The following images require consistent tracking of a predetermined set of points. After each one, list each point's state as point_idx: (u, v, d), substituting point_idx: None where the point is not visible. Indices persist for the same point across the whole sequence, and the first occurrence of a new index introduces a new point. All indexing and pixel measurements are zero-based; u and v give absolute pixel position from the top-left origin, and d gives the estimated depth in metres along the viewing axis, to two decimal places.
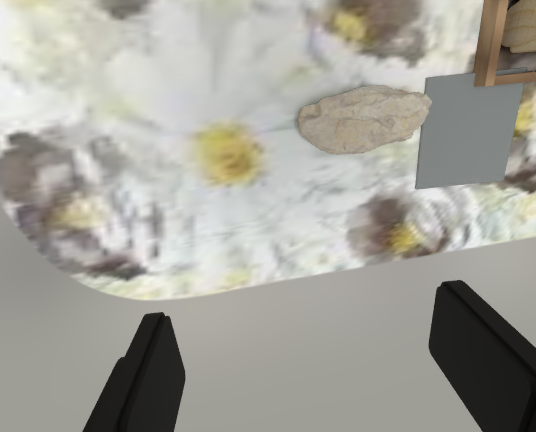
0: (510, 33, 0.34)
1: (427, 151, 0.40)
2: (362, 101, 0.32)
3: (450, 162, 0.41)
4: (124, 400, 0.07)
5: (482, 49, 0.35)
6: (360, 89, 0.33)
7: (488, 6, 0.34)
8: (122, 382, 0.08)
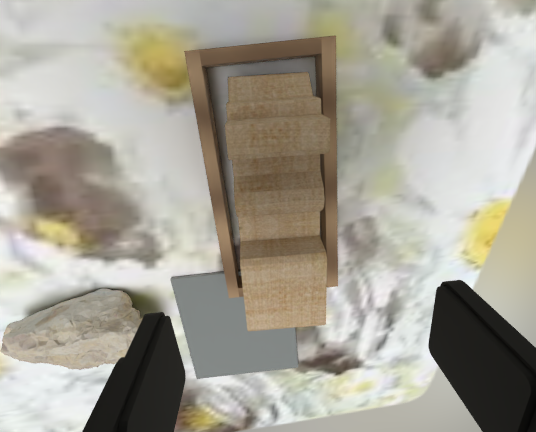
0: None
1: (196, 345, 0.34)
2: (49, 342, 0.26)
3: (228, 354, 0.35)
4: (124, 401, 0.07)
5: None
6: (58, 318, 0.27)
7: None
8: (122, 382, 0.08)
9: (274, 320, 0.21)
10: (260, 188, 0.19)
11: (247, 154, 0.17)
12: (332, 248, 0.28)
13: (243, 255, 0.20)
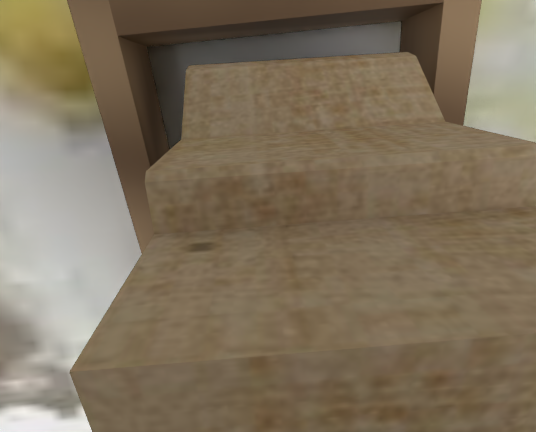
0: None
1: None
2: None
3: None
4: None
5: None
6: None
7: None
8: None
9: None
10: None
11: None
12: None
13: None
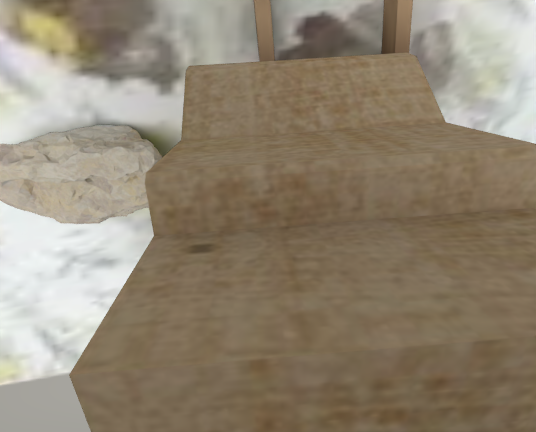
0: None
1: None
2: (37, 156, 0.20)
3: None
4: None
5: None
6: (50, 134, 0.21)
7: (254, 1, 0.21)
8: None
9: None
10: None
11: None
12: (402, 47, 0.22)
13: None
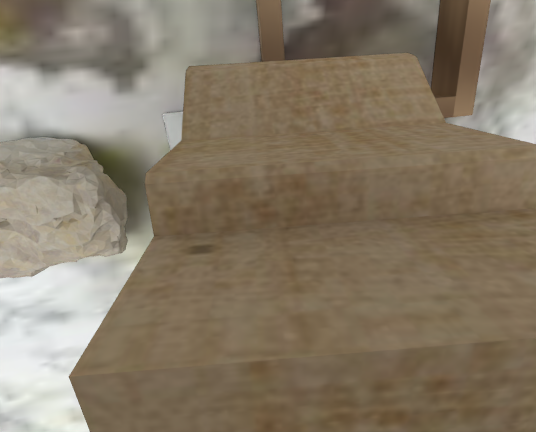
0: None
1: None
2: None
3: None
4: None
5: (261, 52, 0.16)
6: None
7: None
8: None
9: None
10: None
11: None
12: (477, 21, 0.14)
13: None
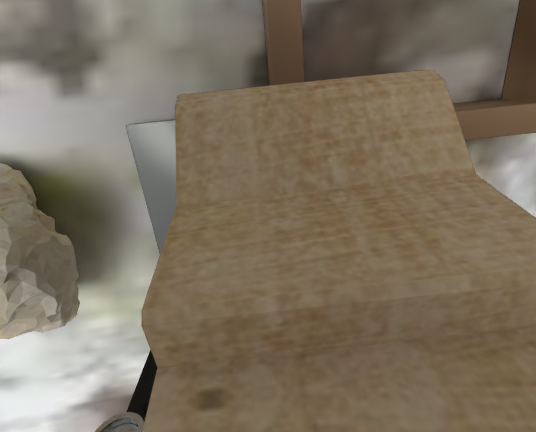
0: None
1: None
2: None
3: None
4: None
5: (266, 37, 0.11)
6: None
7: None
8: None
9: None
10: None
11: None
12: None
13: None
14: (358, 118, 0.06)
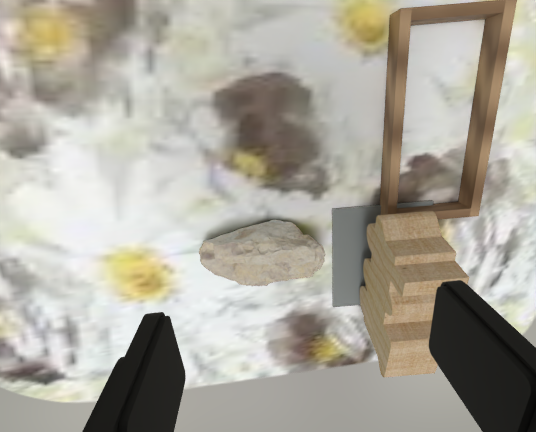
0: (363, 306, 0.39)
1: (339, 273, 0.40)
2: (254, 250, 0.32)
3: (365, 283, 0.40)
4: (124, 400, 0.07)
5: (383, 186, 0.35)
6: (256, 234, 0.33)
7: (385, 150, 0.34)
8: (122, 382, 0.08)
9: (402, 372, 0.33)
10: (408, 302, 0.30)
11: (413, 295, 0.27)
12: (480, 180, 0.34)
13: (390, 338, 0.31)
14: (418, 224, 0.30)
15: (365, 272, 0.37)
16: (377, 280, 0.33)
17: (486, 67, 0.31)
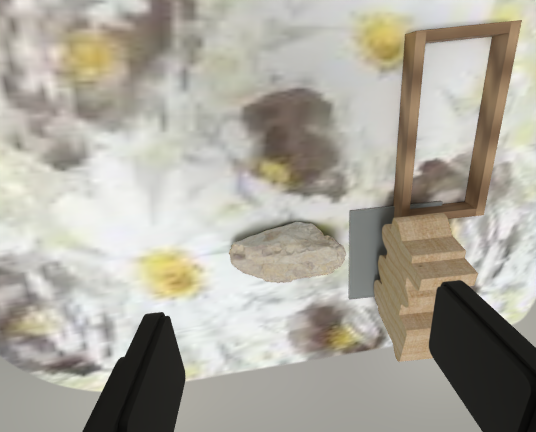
0: (378, 298, 0.43)
1: (356, 269, 0.43)
2: (282, 252, 0.35)
3: (378, 277, 0.44)
4: (124, 400, 0.07)
5: (397, 190, 0.38)
6: (283, 236, 0.37)
7: (400, 157, 0.37)
8: (122, 382, 0.08)
9: (416, 356, 0.37)
10: (422, 295, 0.33)
11: (429, 289, 0.31)
12: (486, 183, 0.37)
13: (406, 327, 0.35)
14: (431, 225, 0.34)
15: (380, 268, 0.40)
16: (392, 275, 0.37)
17: (492, 81, 0.33)
